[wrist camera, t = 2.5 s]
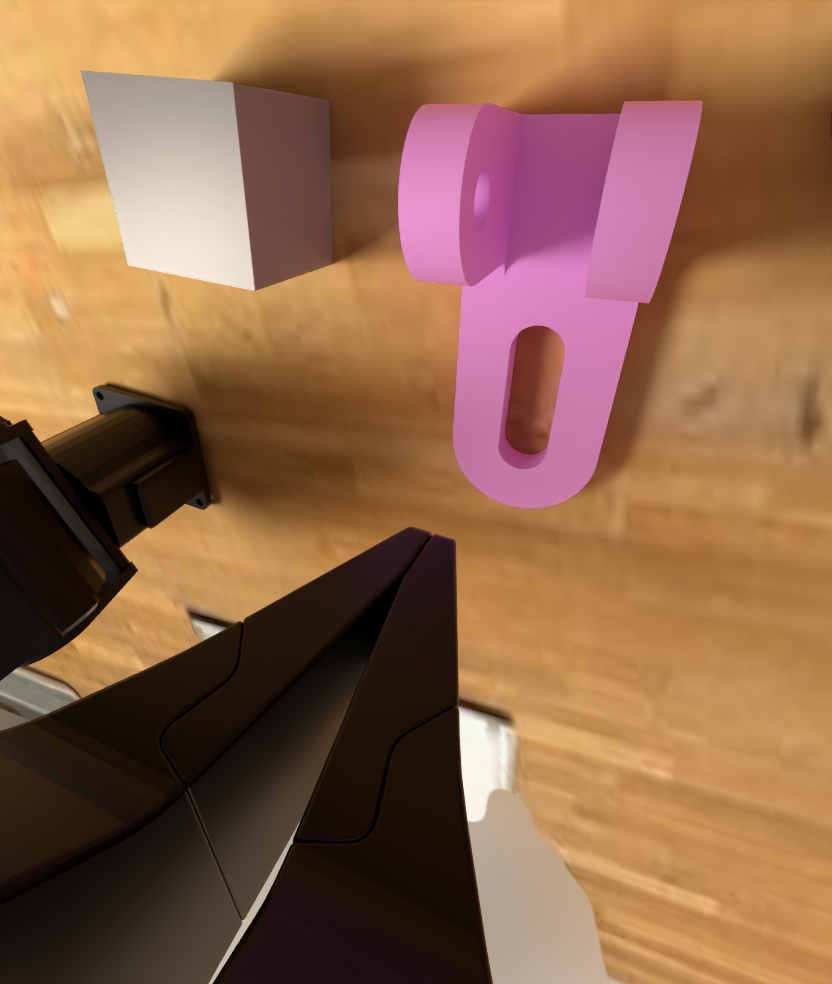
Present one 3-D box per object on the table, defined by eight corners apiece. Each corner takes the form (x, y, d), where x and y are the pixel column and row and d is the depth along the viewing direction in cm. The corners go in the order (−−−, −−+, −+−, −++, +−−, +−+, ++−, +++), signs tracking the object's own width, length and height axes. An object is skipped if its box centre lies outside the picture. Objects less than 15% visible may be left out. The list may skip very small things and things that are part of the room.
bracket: (485, 117, 15) (397, 96, 10) (684, 116, 13) (711, 91, 8) (458, 476, 22) (400, 577, 17) (585, 502, 21) (565, 623, 15)
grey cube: (225, 244, 20) (128, 265, 17) (205, 89, 17) (80, 70, 14) (333, 263, 19) (254, 290, 15) (330, 100, 16) (232, 82, 12)
